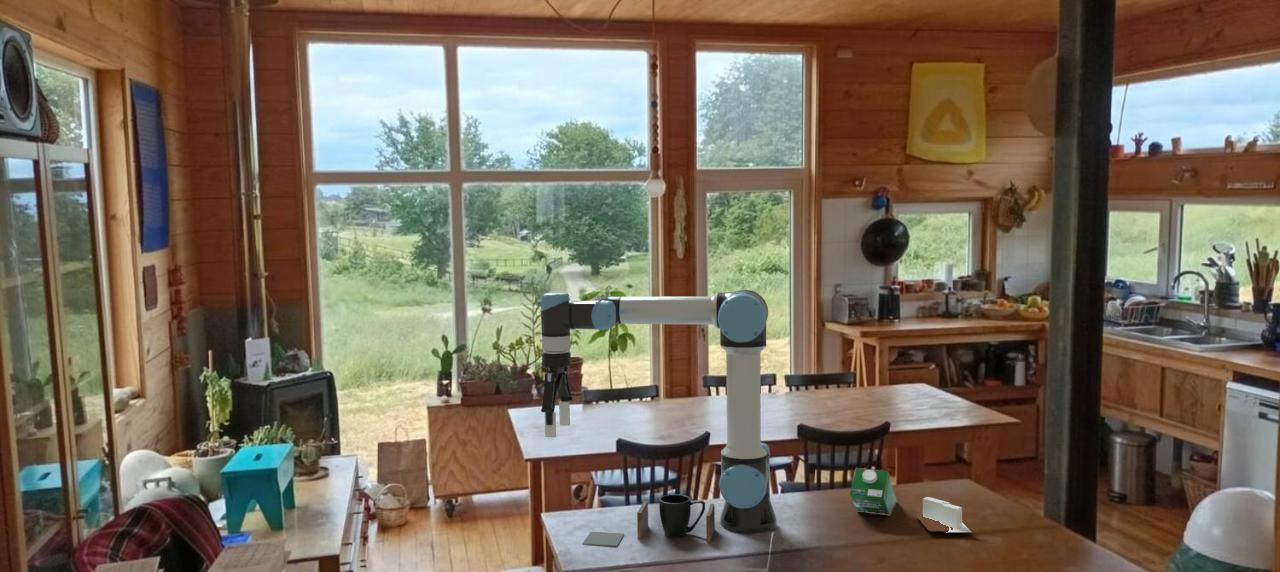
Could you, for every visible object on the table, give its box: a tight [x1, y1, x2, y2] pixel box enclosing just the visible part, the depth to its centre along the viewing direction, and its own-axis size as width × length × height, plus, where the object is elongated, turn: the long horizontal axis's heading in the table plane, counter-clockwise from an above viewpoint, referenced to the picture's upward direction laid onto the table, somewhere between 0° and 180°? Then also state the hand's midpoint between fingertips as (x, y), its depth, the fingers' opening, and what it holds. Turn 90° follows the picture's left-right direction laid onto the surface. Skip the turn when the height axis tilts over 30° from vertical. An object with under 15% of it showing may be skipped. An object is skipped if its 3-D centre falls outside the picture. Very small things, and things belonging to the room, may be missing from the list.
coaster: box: [582, 531, 625, 548], centre depth 236 cm, size 9×9×1 cm
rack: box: [636, 500, 716, 544], centre depth 240 cm, size 19×10×7 cm, turn 79°
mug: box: [658, 493, 706, 539], centre depth 239 cm, size 8×12×10 cm
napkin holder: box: [922, 496, 972, 533], centre depth 247 cm, size 15×11×6 cm
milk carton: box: [849, 467, 898, 514], centre depth 260 cm, size 9×9×25 cm
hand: (557, 431), depth 241 cm, fingers open, 13 cm apart
